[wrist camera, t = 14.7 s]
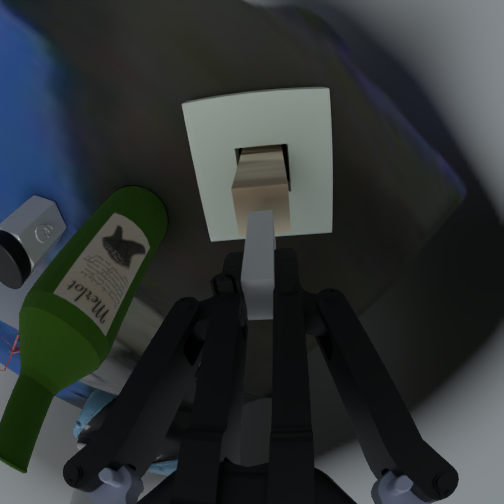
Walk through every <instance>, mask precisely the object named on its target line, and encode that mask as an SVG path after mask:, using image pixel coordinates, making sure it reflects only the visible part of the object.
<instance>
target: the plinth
mask: <svg viewBox="0 0 504 504" xmlns="http://www.w3.org/2000/svg"><path fill="white" fill-rule="evenodd" d="M182 108H183V113H184V118H185V124H186V129H187V134H188V139H189V144H190V149H191V154H192V159H193V163H194V168H195V173H196V178H197V182H198V187H199V192H200V196H201V201H202V205H203V210H204V214H205V218H206V223H207V227H208V231H209V236H210V240H211V241H223V240H235V239H246V236H239V232H238V226H237V221H236V215H235V209H234V203H233V197H232V191H231V188H232V184H233V181H234V177H235V174H236V170H237V167H238V163H239V160H240V156H239V149H238V148H245V147H254V146H265V145H276V144H286V145H287V157H288V169H289V181H288V192H289V206H290V222H291V232H290V233H277V234H275V236H288V235H302V234H317V233H332V209H333V163H332V128H331V108H330V93H329V88H326V87H298V88H281V89H268V90H258V91H248V92H240V93H232V94H225V95H219V96H212V97H206V98H201V99H195V100H190V101H187V102H185V103H183V104H182Z"/></svg>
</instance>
